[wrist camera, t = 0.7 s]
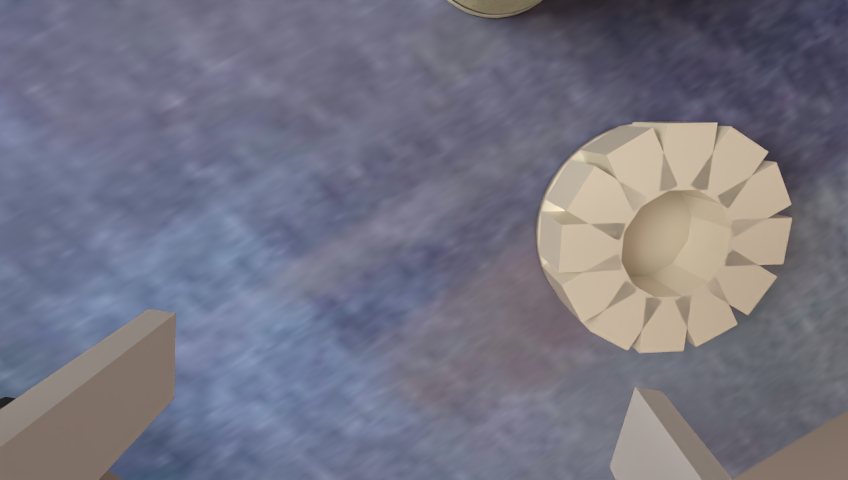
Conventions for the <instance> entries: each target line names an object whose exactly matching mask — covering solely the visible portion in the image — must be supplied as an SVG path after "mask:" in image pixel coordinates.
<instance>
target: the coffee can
mask: <svg viewBox="0 0 848 480" xmlns="http://www.w3.org/2000/svg"><path fill="white" fill-rule="evenodd" d="M447 1H448V2H449V3H451V4H452V5H454V6H455V7H457V8H458V9H460V10H462V11H464V12H466V13H469V14H472V15H476V16H480V17H485V18H502V17H508V16H513V15H516V14H519V13H521V12H524V11H527V10H529V9H531V8H532V7H533V6H535V5H536V4H538V3H540V2H541V1H542V0H447Z"/></svg>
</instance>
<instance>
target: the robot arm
mask: <svg viewBox="0 0 848 480" xmlns="http://www.w3.org/2000/svg"><path fill="white" fill-rule="evenodd" d="M175 328H176V313H171V312H165V311H159V310H152V309H148V310H146V311H145V312H143V313H142V314H140V315H139V316H137V317H136V318H134V319H133V320H131V321H130V322H129V323H127V324H126V325H124V326H123V327H121V328H120V329H118V330H117V331H115V332H114V333H112V334H111V335H109V336H108V337H106V338H105V339H103V340H102V341H100V342H99V343H98V344H96V345H95V346H93V347H92V348H90V349H89V350H87V351H86V352H84V353H83V354H81V355H80V356H78V357H77V358H75V359H74V360H72V361H71V362H69V363H68V364H67V365H65V366H64V367H62V368H61V369H59V370H58V371H56V372H55V373H53V374H52V375H50V376H49V377H47V378H46V379H44V380H43V381H41V382H40V383H38V384H37V385H36V386H34V387H33V388H31V389H30V390H28V391H27V392H25V393H24V394H22V395H21V396H19V397H18V398H16V399H15V398H9V397H4V398H2V399H0V480H99V479H100V477H101V476H102V475H103V474H104V473H105V472H106V471H107V470H108V469H109V468H110V467H111V466H112V465H113V463H114V462H115V461H116V460H117V459H118V458H119V457H120V456H121V455H122V454H123V453H124V452H125V450H126V449H127V448H128V447H129V446H130V445H131V444H132V443H133V442H134V441H135V440H136V439H137V438H138V436H139V435H140V434H141V433H142V432H143V431H144V430H145V429H146V428H147V427H148V426H149V425H150V424H151V422H152V421H153V420H154V419H155V418H156V417H157V416H158V415H159V414H160V413H161V412H162V411H163V409H164V408H165V407H166V406H167V405H168V404H169V403H170V402H171V401H172V400H173V399H174V381H175ZM610 469H611V471H612V473H613V475H614V477H615V479H616V480H732V478H731V477H730V476H729V475H728V473H727V472H726V471H725V470H724V468H723V467H722V466H721V465H720V463H719V462H718V461H717V460H716V458H715V457H714V456H713V455H712V453H711V452H710V451H709V450H708V448H707V447H706V446H705V445H704V443H703V442H702V441H701V440H700V438H699V437H698V436H697V435H696V433H695V432H694V431H693V430H692V428H691V427H690V426H689V425H688V423H687V422H686V421H685V420H684V418H683V417H682V416H681V415H680V413H679V412H678V411H677V410H676V408H675V407H674V406H673V405H672V403H671V402H670V401H669V400H668V398H667V397H666V396H665V395H664V393H663V392H662V391H658V390H652V389H646V388H640V387H635V389H634V392H633V395H632V399H631V402H630V405H629V408H628V411H627V414H626V417H625V420H624V423H623V426H622V430H621V433H620V436H619V439H618V442H617V445H616V448H615V451H614V454H613V458H612V461H611V464H610Z"/></svg>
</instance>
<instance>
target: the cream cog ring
mask: <svg viewBox="0 0 848 480" xmlns="http://www.w3.org/2000/svg"><path fill="white" fill-rule="evenodd" d="M767 153H768V151H767V150H765V149H764V148H762V147H761V146H759V145H758V144H756V143H755V142H753V141H752V140H750V139H749V138H747V137H746V136H744V135H743V134H741V133H740V132H738V131H737V130H735V129H734V128H732V127H731V126H717V123H716V122H679V121H673V122H633V123H630V124H625V125H621V126H617V127H615V128H612V129H609V130H606V131H604V132H603V133H601V134H599V135H597V136H595V137H593V138H591V139H590V140H589V141H587V142H586V143H584V144H583V145H581V146H580V147H579V148H578V149H577V150H576V151H574V152H573V153H572V154H571V155H570V156H569V157H568V158H567V159H566V160H565V162H564V163H563V164H562V165H561V166H560V167H559V169H558V170H557V172H556V173H555V175H554V176H553V177H552V179H551V181H550V183H549V185H548V187H547V188H546V190H545V193H544V196H543V198H542V201H541V203H540V207H539V211H538V215H537V222H536V247H537V254H538V258H539V261H540V265H541V268H542V270H543V272H544V274H545V276H546V278H547V280H548V282H549V283H550V285H551V286H552V288H553V289H554V290H555V291H556V293H557V295H558V297H559V299H560V300H561V301H562V302H563V303H564V304H565V305H566V306H567V308H568V309H569V310H570V311H571V312H572V313H573V314H574V315H575V316H576V317H577V318H578V319H579V320H580V322H581V323H583V324H584V325H585V326H586V327H587V328H588V329H589V330H590V331H591V332H593V333H595V334H596V335H598V336H600V337H602V338H604V339H606V340H608V341H610V342H612V343H614V344H616V345H618V346H619V347H621V348H623V349H625V350H627V351H628V349H629V348H630V347H631V346H632V347H634V348H635V349H636V350H637V351H638V352H639V353H652V352H672V351H684V345H685V339H686V340H687V341H689V342H690V343H691V344H693V345H694V346H695V347H698V346H699V345H701V344H703V343H705V342H707V341H708V340H710V339H712V338H714V337H716V336H718V335H719V334H721V333H723V332H725V331H727V330H728V329H730V328H732V327H734V326H736V325H738V324H737V322H736V320H735V317H734V315H733V313H732V310H731V308H730V306H732V307H734V308H736V309H737V310H739V311H741V312H743V313H745V314H746V315H749V314H750V312H751V311H752V310H753V308H754V307H755V306H756V304H757V303H758V302H759V300H760V299H761V298H762V296H763V295H764V294H765V292H766V291H767V290H768V288H769V287H770V286H771V285H772V283H773V282H774V281H775V279H776V278H777V276H775V275H774V274H772V273H770V272H769V271H767V270H765V269H764V268H762V267H761V266H759V265H776V264H783V263H784V258H785V253H786V248H787V243H788V238H789V233H790V228H791V223H792V218H791V217H787V216H784V215H780V214H776V213H778V212H779V211H781V210H783V209H785V208H787V207H788V206H790V205H792V204H791V201H790V198H789V196H788V193H787V190H786V187H785V185H784V182H783V179H782V176H781V173H780V171H779V168H778V165H777V162H772V161H764V160H763V159H764V158H765V156H766V155H767ZM729 305H730V306H729Z"/></svg>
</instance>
